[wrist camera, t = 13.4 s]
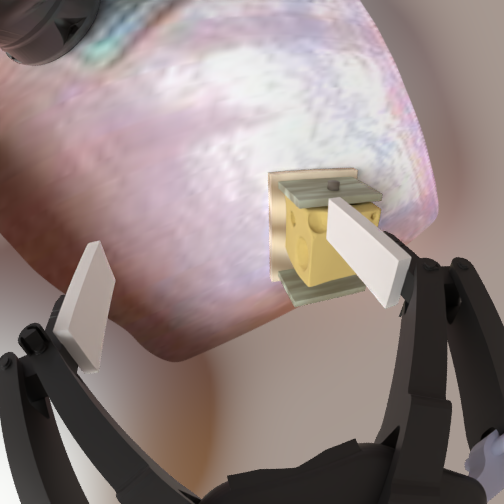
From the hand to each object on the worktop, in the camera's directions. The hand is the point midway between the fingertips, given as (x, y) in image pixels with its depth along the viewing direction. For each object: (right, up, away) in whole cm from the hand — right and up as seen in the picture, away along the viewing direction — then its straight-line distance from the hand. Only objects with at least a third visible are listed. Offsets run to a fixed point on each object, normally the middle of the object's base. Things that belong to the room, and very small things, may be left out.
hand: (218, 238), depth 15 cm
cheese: (+12, +5, +28) cm, 31 cm away
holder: (+11, +4, +30) cm, 32 cm away
